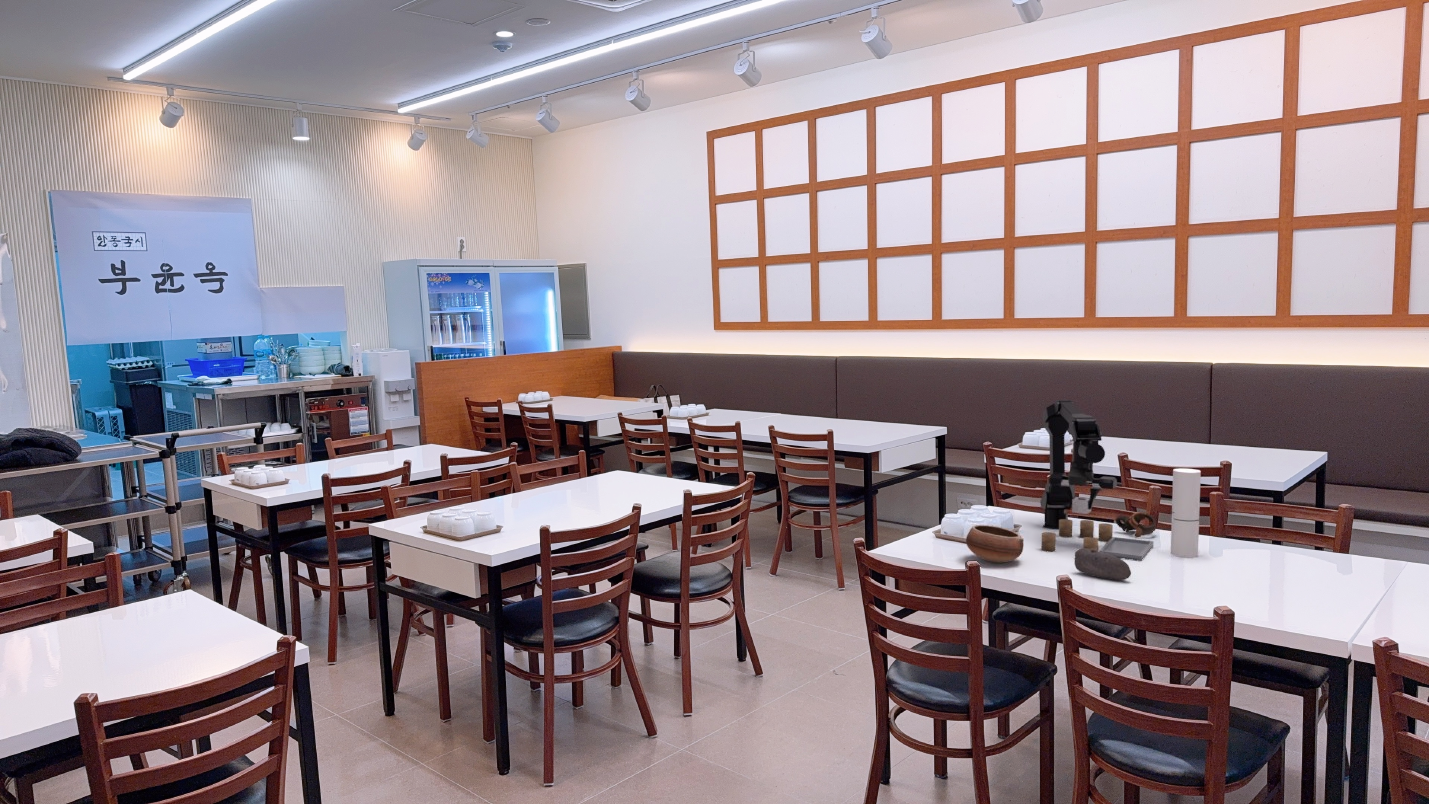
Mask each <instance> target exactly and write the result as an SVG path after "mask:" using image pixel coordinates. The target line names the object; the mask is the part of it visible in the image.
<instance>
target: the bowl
mask: <svg viewBox="0 0 1429 804" xmlns="http://www.w3.org/2000/svg"><path fill="white" fill-rule="evenodd" d="M965 540H966V541H965V543H966V547H967V548H968V549H969V551H970V552H971V553H973V554H974V555H976V557H979V558H981V559H983V560H985V561H987V562H990V563H996V562H998V564H1000V562H1002V563H1006V562H1007V563H1008V562H1011V561H1014V560H1016V559H1017V558H1019V557H1020V556H1021V555H1022V554H1023V551H1024V538H1023V537H1022V536H1021V534H1019V533H1018V532H1015V531H1014V530H1011V529H1009V528H1006V527H1005V528H1004V527H1002V526H996V525H995V526H994V525H987V524H976V525H973V526H972V527H971V528H970V529H969V531H968V532H967V535H966V538H965Z"/></svg>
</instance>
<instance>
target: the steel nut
mask: <svg viewBox="0 0 1429 804" xmlns="http://www.w3.org/2000/svg"><path fill="white" fill-rule="evenodd" d="M1089 501H1090V497H1081V496H1075V498H1074V499H1072V505H1071V513H1075V514H1084V515H1088V514H1089V513H1091V512H1092V508H1091V509H1089Z"/></svg>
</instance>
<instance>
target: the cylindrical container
mask: <svg viewBox="0 0 1429 804" xmlns="http://www.w3.org/2000/svg"><path fill="white" fill-rule="evenodd" d="M1201 473H1202V471H1201V470H1200V469H1195V468H1194V469H1193V468H1183V467H1181V468H1173V470H1172V494H1171V495H1172V497H1171V527H1170V529H1171V530H1170V531H1171V533H1170V537H1171V538H1170V554H1171V556H1174V557H1177V558H1187V559H1189V558H1190V559H1193V558H1194V557H1195V558H1197V556H1198V557H1199V534H1200V533H1199V532H1200V531H1199V530H1200V502H1201V501H1200V499H1201Z"/></svg>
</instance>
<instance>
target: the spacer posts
mask: <svg viewBox="0 0 1429 804" xmlns="http://www.w3.org/2000/svg"><path fill="white" fill-rule="evenodd" d="M1079 522H1080V523H1079V537H1080V538H1082V539H1083V544H1082V548H1086V549H1091V550H1096V551H1099V542H1102V543H1107V542H1108V541H1109V540H1110V539H1111V538H1112V537H1113V532H1114V531H1113V524H1111V523H1106V522H1105V523H1098V538H1097V537H1094V536H1095V535H1094V533H1095V532H1094V528H1095V524H1094V523H1095V521H1093V520H1089V519H1082V520H1080V521H1079ZM1073 523H1074V522H1073V520H1072V519H1069V518H1068V519H1060V520H1059V529H1058V536H1059V537H1061V538H1072V537H1073ZM1056 537H1057V534H1056V533H1054V532H1050V531H1048V532H1047V531H1046V532H1045V531H1043V532H1041V551H1043V552H1047V551H1048V552H1049V553H1050V552H1056V551H1057V550H1056V541H1057V539H1056ZM1055 550H1056V551H1055Z"/></svg>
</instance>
